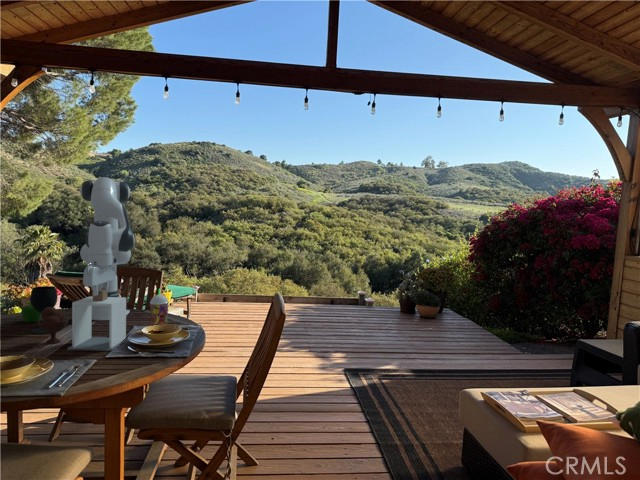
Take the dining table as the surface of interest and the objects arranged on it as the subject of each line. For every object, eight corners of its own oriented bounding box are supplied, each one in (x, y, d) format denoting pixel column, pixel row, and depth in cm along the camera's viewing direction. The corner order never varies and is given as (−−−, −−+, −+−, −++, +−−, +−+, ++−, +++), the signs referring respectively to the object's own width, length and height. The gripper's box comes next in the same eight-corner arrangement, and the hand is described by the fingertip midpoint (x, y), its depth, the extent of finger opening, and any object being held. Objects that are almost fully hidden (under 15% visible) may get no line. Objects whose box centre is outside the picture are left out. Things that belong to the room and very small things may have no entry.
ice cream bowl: (54, 347, 171) (54, 310, 170) (31, 344, 173) (30, 308, 172) (74, 339, 181) (74, 305, 180) (52, 337, 183) (52, 303, 183)
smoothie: (154, 328, 204) (154, 286, 203) (171, 328, 204) (171, 287, 203) (146, 332, 196) (146, 289, 194) (164, 333, 195) (164, 290, 194)
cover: (89, 337, 183) (89, 287, 182) (125, 338, 183) (126, 288, 182) (72, 346, 170) (72, 292, 169) (111, 348, 170) (111, 293, 169)
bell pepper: (43, 319, 214) (43, 299, 214) (41, 322, 207) (41, 302, 207) (23, 320, 211) (23, 300, 210) (20, 324, 203) (20, 303, 203)
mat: (88, 338, 184) (88, 336, 184) (130, 339, 184) (130, 338, 184) (67, 349, 168) (67, 348, 168) (112, 350, 169) (112, 349, 168)
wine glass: (45, 327, 199) (45, 285, 198) (62, 329, 196) (62, 286, 195) (24, 332, 190) (24, 288, 188) (42, 335, 187) (42, 290, 186)
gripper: (94, 263, 164) (94, 298, 165) (119, 258, 185) (119, 289, 185) (78, 263, 164) (78, 298, 165) (104, 258, 185) (104, 289, 185)
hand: (100, 293), depth 175 cm, fingers open, 5 cm apart
